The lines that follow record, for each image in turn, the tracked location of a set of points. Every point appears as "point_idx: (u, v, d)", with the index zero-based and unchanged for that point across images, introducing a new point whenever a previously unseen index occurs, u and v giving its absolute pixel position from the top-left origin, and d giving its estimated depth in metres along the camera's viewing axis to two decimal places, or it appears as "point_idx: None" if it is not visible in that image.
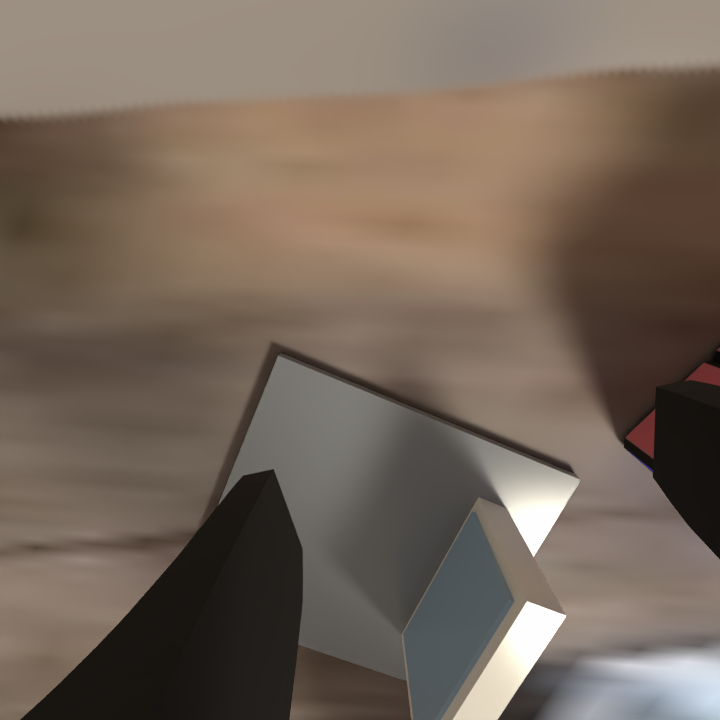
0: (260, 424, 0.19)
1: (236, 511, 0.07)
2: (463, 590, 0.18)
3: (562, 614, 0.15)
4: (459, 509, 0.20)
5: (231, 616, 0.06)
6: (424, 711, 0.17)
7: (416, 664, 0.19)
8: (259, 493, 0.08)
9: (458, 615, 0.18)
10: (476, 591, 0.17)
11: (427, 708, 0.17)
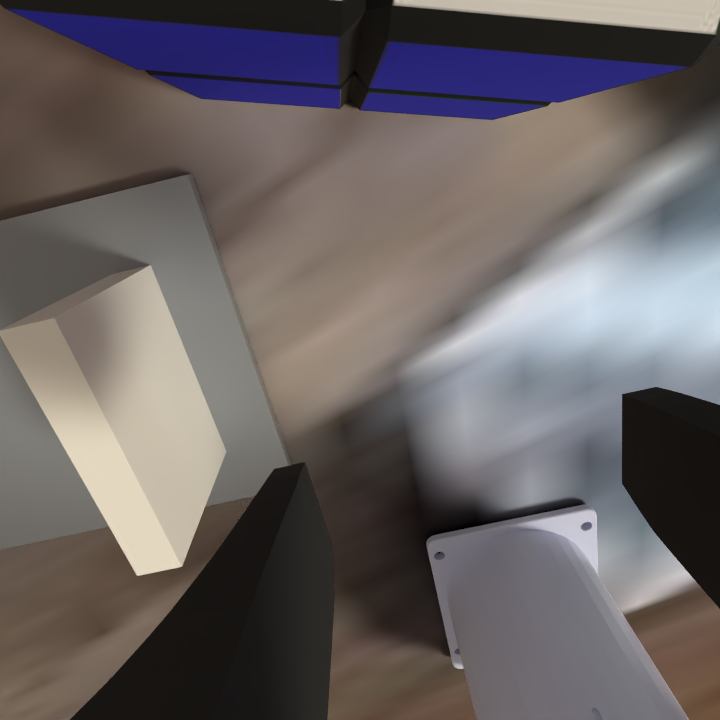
0: None
1: (273, 503, 0.07)
2: None
3: (49, 319, 0.11)
4: None
5: (277, 607, 0.06)
6: None
7: None
8: (294, 486, 0.07)
9: None
10: None
11: None
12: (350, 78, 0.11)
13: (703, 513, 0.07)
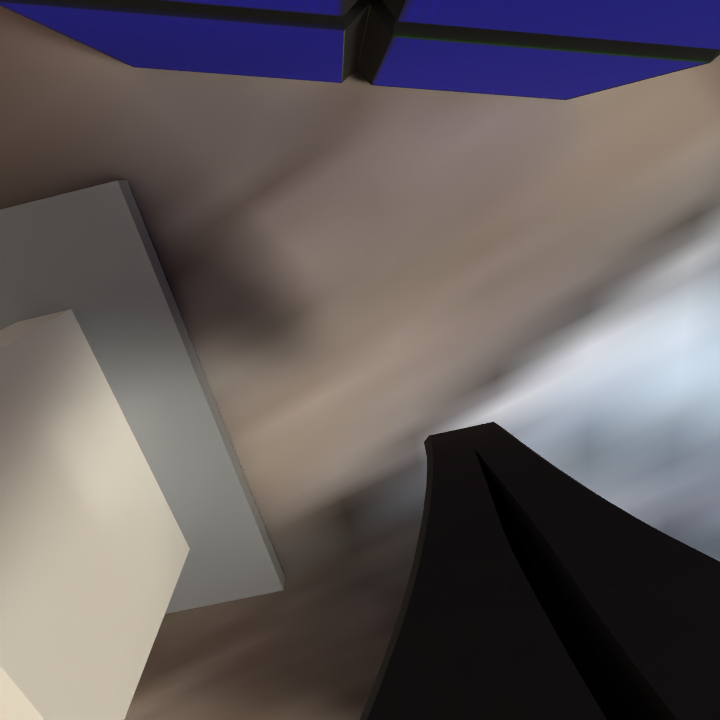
0: None
1: (461, 464, 0.07)
2: None
3: None
4: None
5: None
6: None
7: None
8: (472, 448, 0.07)
9: None
10: None
11: None
12: (362, 10, 0.06)
13: None
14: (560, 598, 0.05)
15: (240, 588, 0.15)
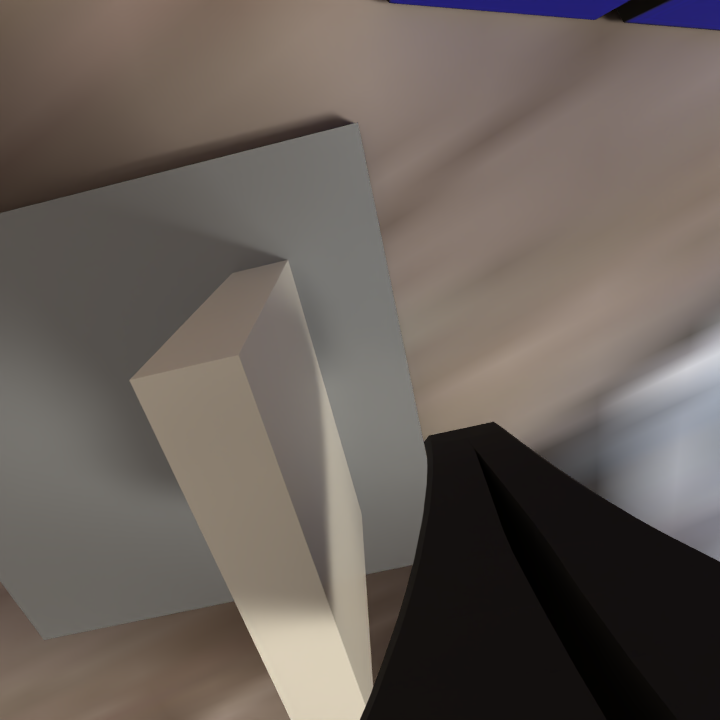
0: None
1: (461, 464, 0.07)
2: None
3: (229, 357, 0.06)
4: None
5: None
6: None
7: None
8: (472, 448, 0.07)
9: None
10: None
11: None
12: None
13: None
14: (560, 598, 0.05)
15: (404, 555, 0.15)
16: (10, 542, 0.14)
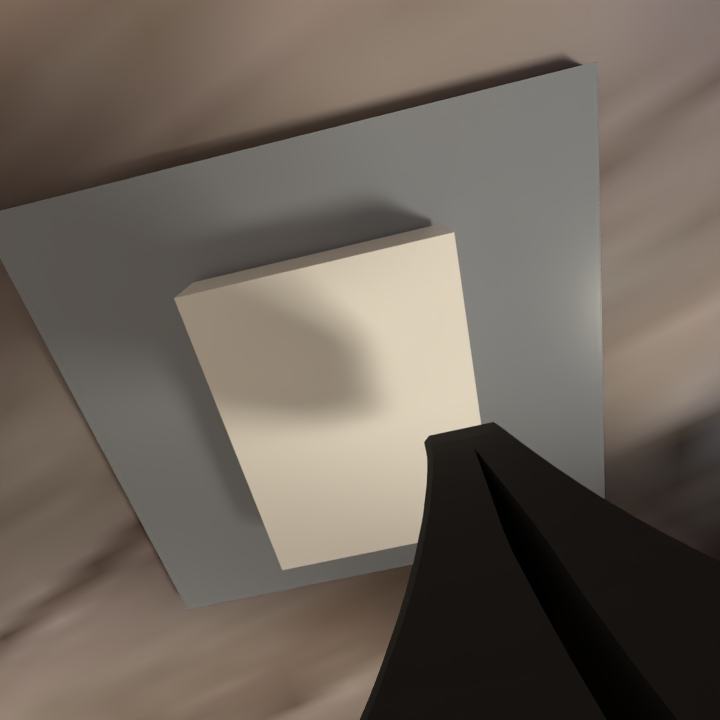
0: (57, 336, 0.12)
1: (461, 464, 0.07)
2: None
3: (176, 296, 0.10)
4: None
5: None
6: None
7: None
8: (472, 448, 0.07)
9: None
10: None
11: None
12: None
13: None
14: (560, 598, 0.05)
15: None
16: (171, 506, 0.14)
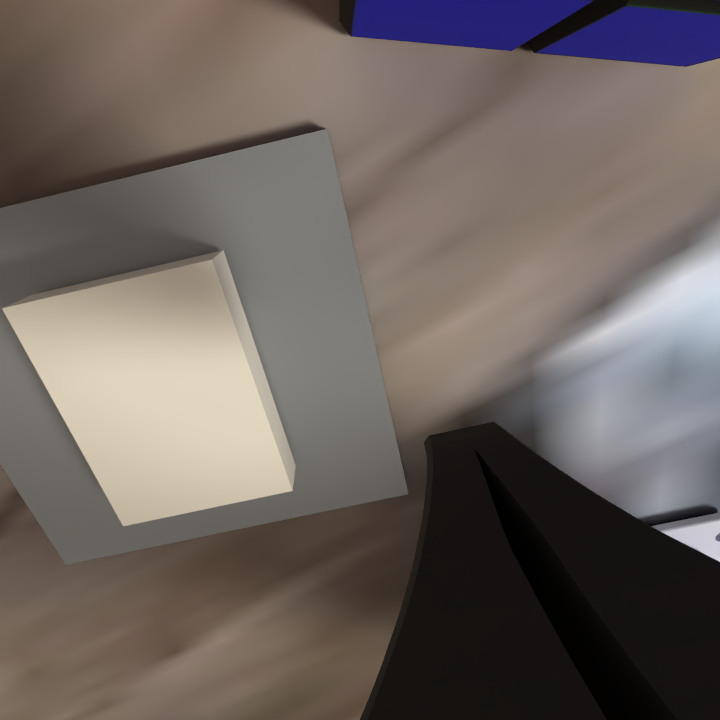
0: None
1: (461, 464, 0.07)
2: None
3: (5, 307, 0.13)
4: None
5: None
6: None
7: None
8: (472, 448, 0.07)
9: None
10: None
11: None
12: None
13: None
14: (560, 598, 0.05)
15: (372, 492, 0.18)
16: (40, 476, 0.17)
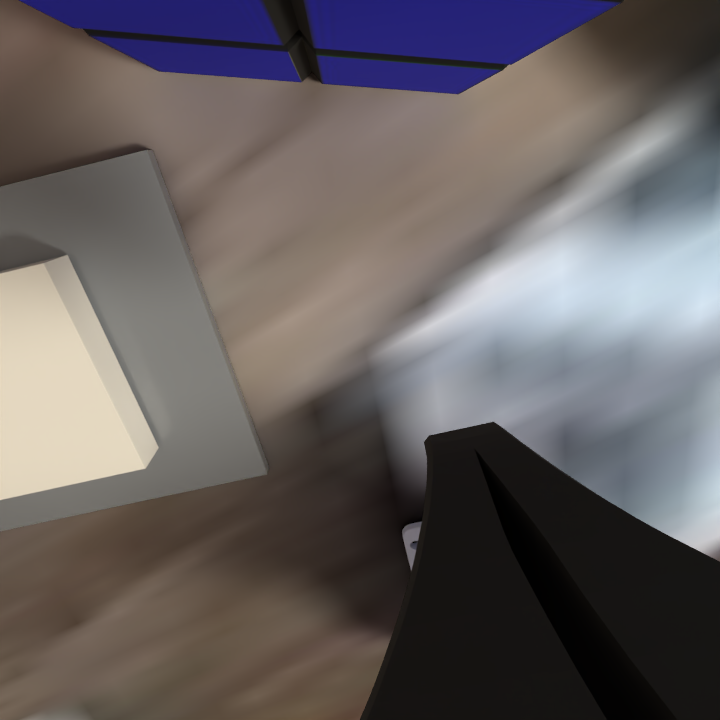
0: None
1: (461, 464, 0.07)
2: None
3: None
4: None
5: None
6: None
7: None
8: (472, 448, 0.07)
9: None
10: None
11: None
12: (298, 40, 0.10)
13: None
14: (560, 598, 0.05)
15: (234, 472, 0.20)
16: None
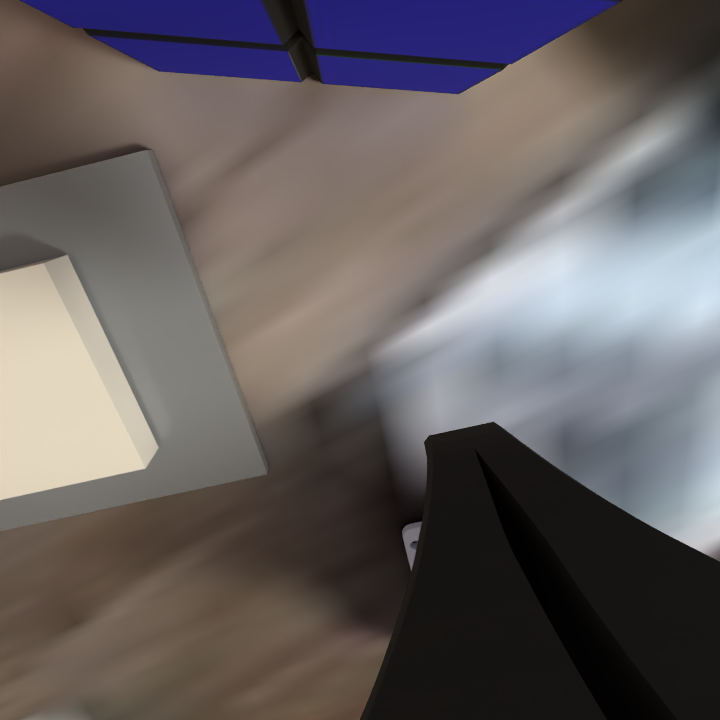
0: None
1: (461, 464, 0.07)
2: None
3: None
4: None
5: None
6: None
7: None
8: (472, 448, 0.07)
9: None
10: None
11: None
12: (297, 40, 0.10)
13: None
14: (560, 598, 0.05)
15: (234, 472, 0.20)
16: None
